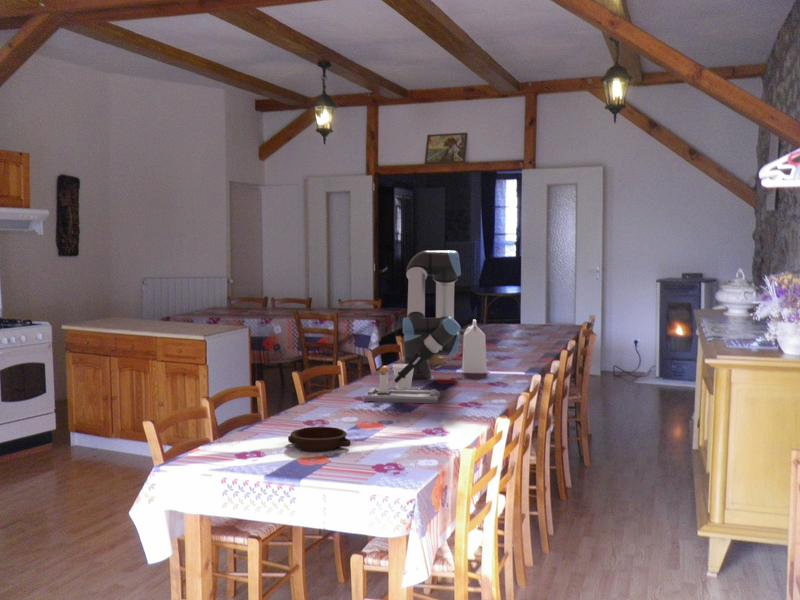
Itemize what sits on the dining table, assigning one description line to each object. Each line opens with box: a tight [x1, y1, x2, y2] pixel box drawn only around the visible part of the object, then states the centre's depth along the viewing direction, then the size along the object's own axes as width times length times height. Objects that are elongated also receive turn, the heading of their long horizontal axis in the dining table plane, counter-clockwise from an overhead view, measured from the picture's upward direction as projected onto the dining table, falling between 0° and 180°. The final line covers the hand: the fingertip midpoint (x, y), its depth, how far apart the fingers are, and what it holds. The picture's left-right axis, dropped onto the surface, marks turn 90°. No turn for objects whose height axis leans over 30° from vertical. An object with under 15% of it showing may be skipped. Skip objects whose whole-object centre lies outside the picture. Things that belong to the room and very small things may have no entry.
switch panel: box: [364, 387, 440, 404], centre depth 332 cm, size 30×14×4 cm, turn 82°
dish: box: [287, 426, 352, 453], centre depth 257 cm, size 17×22×5 cm
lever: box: [377, 365, 392, 395], centre depth 333 cm, size 5×8×12 cm, turn 172°
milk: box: [461, 319, 488, 374], centre depth 400 cm, size 12×12×26 cm
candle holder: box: [428, 355, 447, 367], centre depth 423 cm, size 11×11×24 cm
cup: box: [392, 363, 414, 390], centre depth 351 cm, size 10×10×11 cm
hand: (390, 386), depth 332 cm, fingers closed
